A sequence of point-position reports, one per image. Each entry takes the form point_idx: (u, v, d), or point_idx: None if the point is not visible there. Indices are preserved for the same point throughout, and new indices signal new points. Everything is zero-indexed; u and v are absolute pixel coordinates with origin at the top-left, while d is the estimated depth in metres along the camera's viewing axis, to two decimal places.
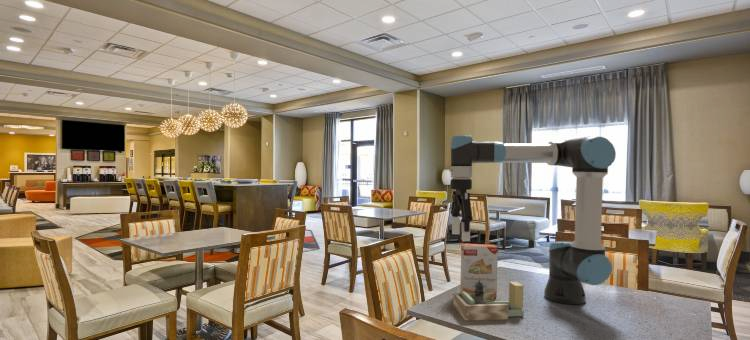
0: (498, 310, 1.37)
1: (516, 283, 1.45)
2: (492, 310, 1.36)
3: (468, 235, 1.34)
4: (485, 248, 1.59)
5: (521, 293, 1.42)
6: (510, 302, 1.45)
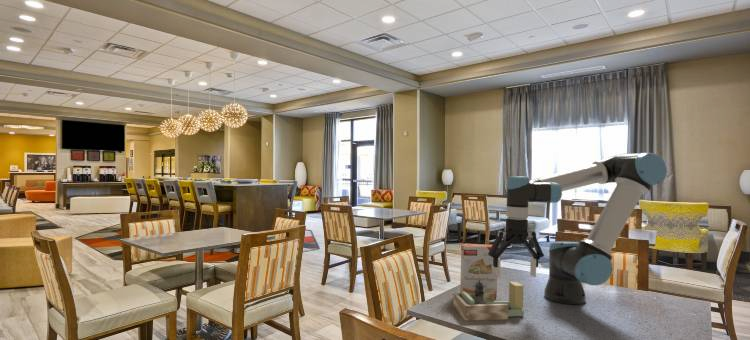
0: (498, 310, 1.37)
1: (516, 283, 1.45)
2: (492, 310, 1.36)
3: (497, 271, 1.43)
4: (485, 248, 1.59)
5: (521, 293, 1.42)
6: (510, 302, 1.45)
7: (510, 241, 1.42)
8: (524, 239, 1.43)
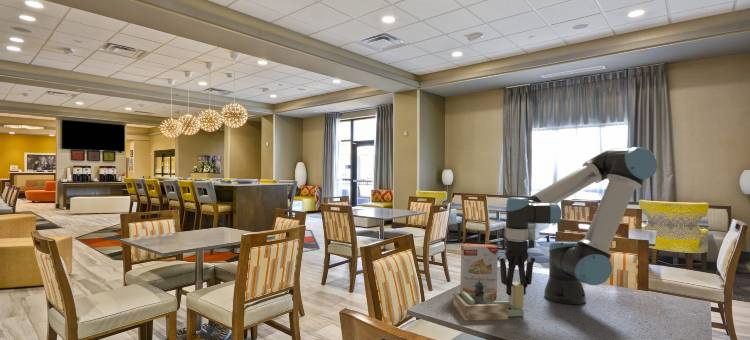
0: (498, 310, 1.37)
1: (516, 283, 1.45)
2: (492, 310, 1.36)
3: (511, 299, 1.43)
4: (485, 248, 1.59)
5: (521, 293, 1.42)
6: None
7: (513, 265, 1.42)
8: (524, 261, 1.43)
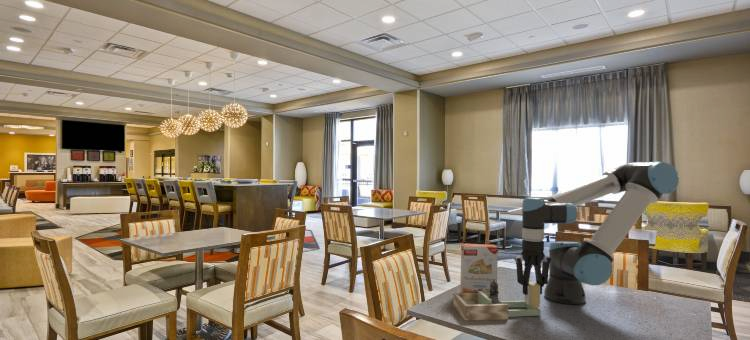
0: (498, 310, 1.37)
1: (532, 283, 1.45)
2: (492, 310, 1.36)
3: (527, 298, 1.44)
4: (485, 248, 1.59)
5: (537, 293, 1.42)
6: None
7: (530, 264, 1.43)
8: (540, 260, 1.43)
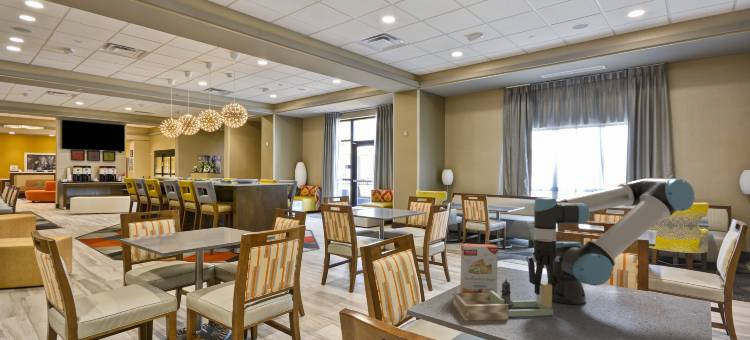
0: (498, 310, 1.37)
1: (544, 282, 1.46)
2: (492, 310, 1.36)
3: (539, 298, 1.44)
4: (485, 248, 1.59)
5: (550, 292, 1.43)
6: None
7: (542, 264, 1.43)
8: (552, 260, 1.44)
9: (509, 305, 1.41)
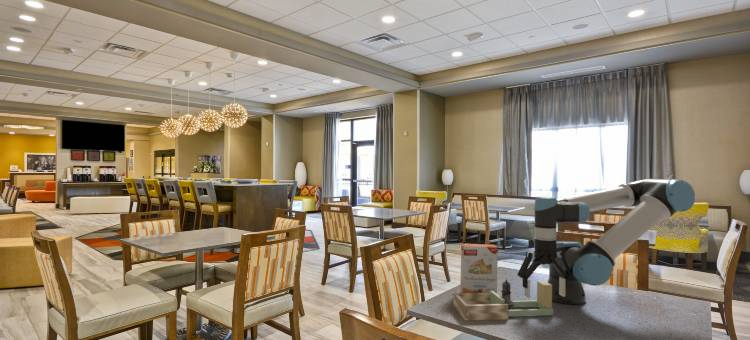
0: (498, 310, 1.37)
1: (544, 282, 1.46)
2: (492, 310, 1.36)
3: (527, 292, 1.44)
4: (485, 248, 1.59)
5: (550, 292, 1.43)
6: (538, 301, 1.46)
7: (539, 262, 1.43)
8: (553, 259, 1.44)
9: (509, 305, 1.41)
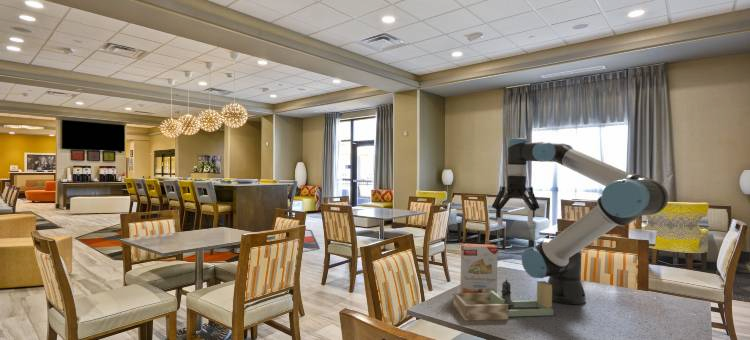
0: (498, 310, 1.37)
1: (544, 282, 1.46)
2: (492, 310, 1.36)
3: (500, 221, 1.64)
4: (485, 248, 1.59)
5: (550, 292, 1.43)
6: (538, 301, 1.46)
7: (511, 194, 1.63)
8: (523, 193, 1.64)
9: (509, 305, 1.41)
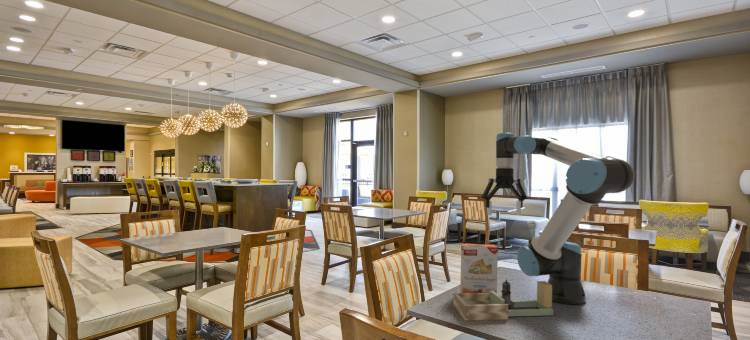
0: (498, 310, 1.37)
1: (544, 282, 1.46)
2: (492, 310, 1.36)
3: (489, 211, 1.74)
4: (485, 248, 1.59)
5: (550, 292, 1.43)
6: (538, 301, 1.46)
7: (499, 186, 1.74)
8: (510, 184, 1.74)
9: (509, 305, 1.41)
